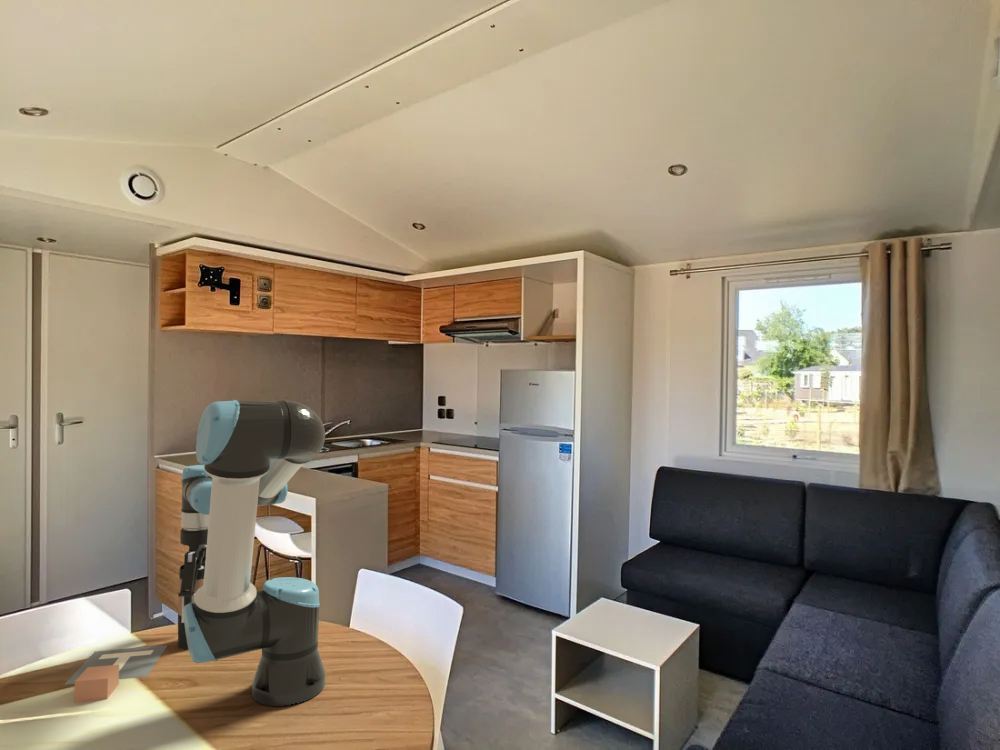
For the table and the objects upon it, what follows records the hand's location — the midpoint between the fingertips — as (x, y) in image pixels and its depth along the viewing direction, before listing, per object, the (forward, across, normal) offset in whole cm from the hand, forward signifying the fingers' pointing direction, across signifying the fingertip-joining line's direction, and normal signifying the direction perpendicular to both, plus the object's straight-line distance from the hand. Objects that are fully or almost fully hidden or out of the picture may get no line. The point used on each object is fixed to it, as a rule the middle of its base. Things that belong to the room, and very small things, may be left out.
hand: (194, 610), depth 147 cm
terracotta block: (+9, +22, -14) cm, 27 cm away
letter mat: (+8, +8, -14) cm, 18 cm away
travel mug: (+9, 0, 0) cm, 9 cm away
